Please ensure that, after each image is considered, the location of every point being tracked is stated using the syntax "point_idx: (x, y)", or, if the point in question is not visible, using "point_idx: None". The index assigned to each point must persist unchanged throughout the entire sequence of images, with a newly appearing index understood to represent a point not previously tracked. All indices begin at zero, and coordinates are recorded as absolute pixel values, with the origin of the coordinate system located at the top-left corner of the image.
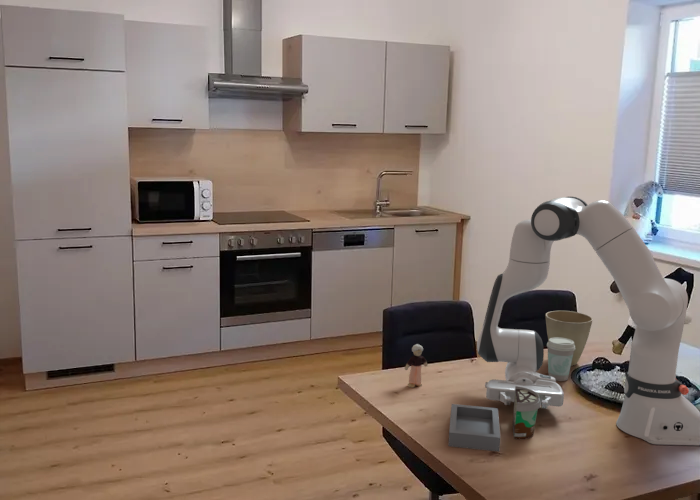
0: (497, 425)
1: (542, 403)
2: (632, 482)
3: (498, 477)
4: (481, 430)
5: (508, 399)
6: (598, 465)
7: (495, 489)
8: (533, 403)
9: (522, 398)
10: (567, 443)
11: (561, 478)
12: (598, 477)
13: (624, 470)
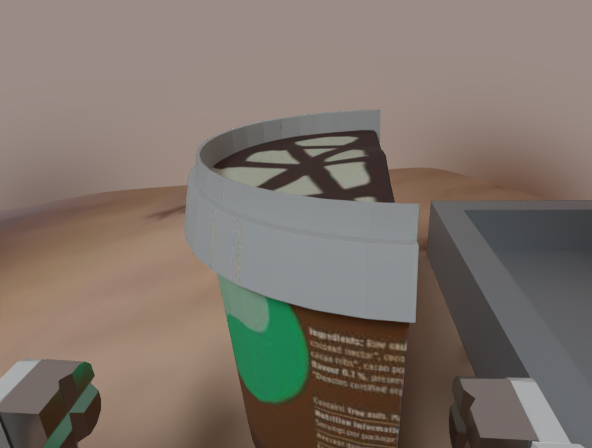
0: (470, 252)
1: (87, 364)
2: (75, 210)
3: (408, 190)
4: (563, 324)
5: (482, 378)
6: (104, 242)
7: (408, 173)
8: (276, 132)
9: (339, 155)
10: (108, 331)
11: None
12: (150, 212)
13: (42, 235)
